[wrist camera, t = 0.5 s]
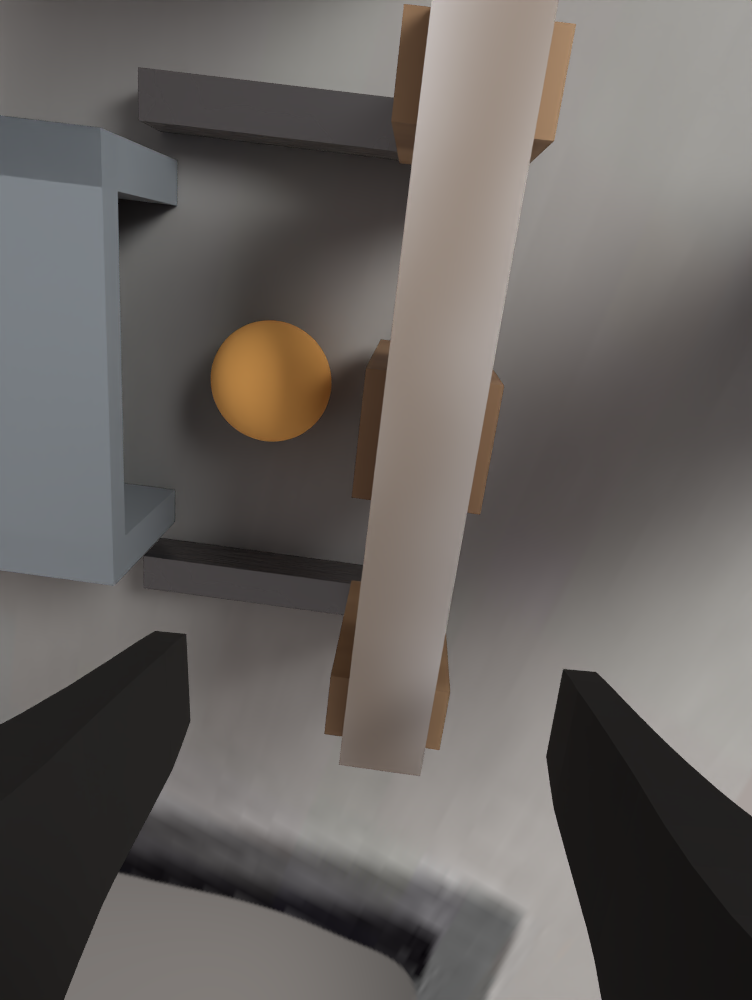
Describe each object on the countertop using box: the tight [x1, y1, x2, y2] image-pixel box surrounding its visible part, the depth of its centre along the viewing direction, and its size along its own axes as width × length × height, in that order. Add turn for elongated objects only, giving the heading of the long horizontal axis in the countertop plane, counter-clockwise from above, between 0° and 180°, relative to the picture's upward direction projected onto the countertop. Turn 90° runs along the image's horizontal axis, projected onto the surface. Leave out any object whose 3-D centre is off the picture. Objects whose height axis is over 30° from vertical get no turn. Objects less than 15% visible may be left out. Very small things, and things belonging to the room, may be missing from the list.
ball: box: [211, 320, 332, 442], centre depth 19 cm, size 4×4×4 cm
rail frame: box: [138, 67, 399, 615], centre depth 20 cm, size 10×15×2 cm, turn 173°
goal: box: [0, 115, 177, 586], centre depth 18 cm, size 6×11×5 cm, turn 173°
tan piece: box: [324, 0, 576, 776], centre depth 16 cm, size 3×16×7 cm, turn 173°
